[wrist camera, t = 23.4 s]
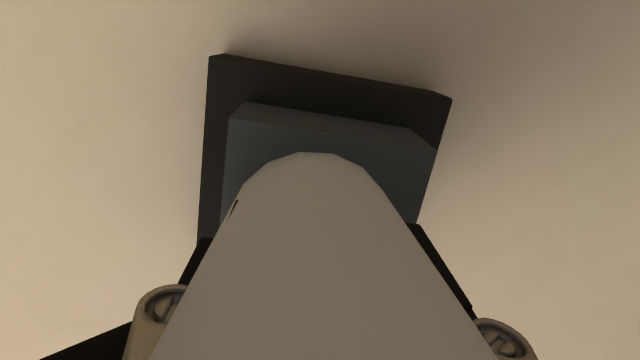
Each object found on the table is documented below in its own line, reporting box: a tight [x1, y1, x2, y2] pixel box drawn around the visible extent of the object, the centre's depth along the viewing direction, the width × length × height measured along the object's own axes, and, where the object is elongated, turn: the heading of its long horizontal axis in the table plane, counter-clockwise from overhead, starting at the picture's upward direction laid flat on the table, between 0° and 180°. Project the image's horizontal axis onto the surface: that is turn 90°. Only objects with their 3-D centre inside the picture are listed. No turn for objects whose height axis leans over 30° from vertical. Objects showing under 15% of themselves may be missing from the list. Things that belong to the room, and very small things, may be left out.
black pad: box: [197, 54, 452, 244], centre depth 18 cm, size 10×10×2 cm
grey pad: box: [219, 101, 437, 228], centre depth 15 cm, size 7×7×3 cm
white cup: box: [148, 152, 499, 360], centre depth 9 cm, size 7×7×10 cm
